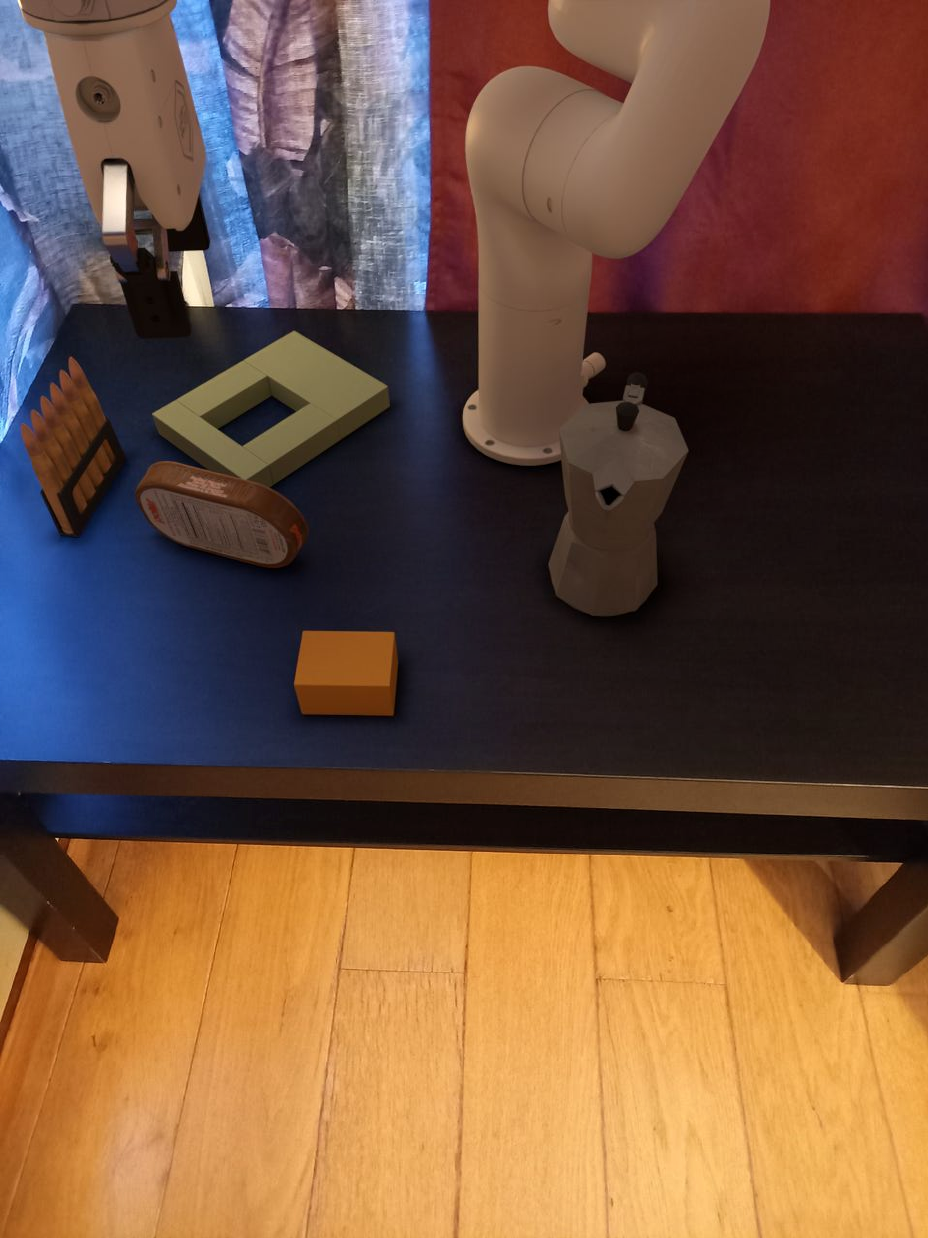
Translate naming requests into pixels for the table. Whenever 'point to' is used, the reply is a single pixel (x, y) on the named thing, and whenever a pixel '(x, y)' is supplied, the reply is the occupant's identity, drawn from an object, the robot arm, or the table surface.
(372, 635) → the ochre box
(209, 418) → the olive rectangular frame
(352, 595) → the table surface
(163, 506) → the tin
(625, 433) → the coffeepot
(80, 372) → the ammunition clip
